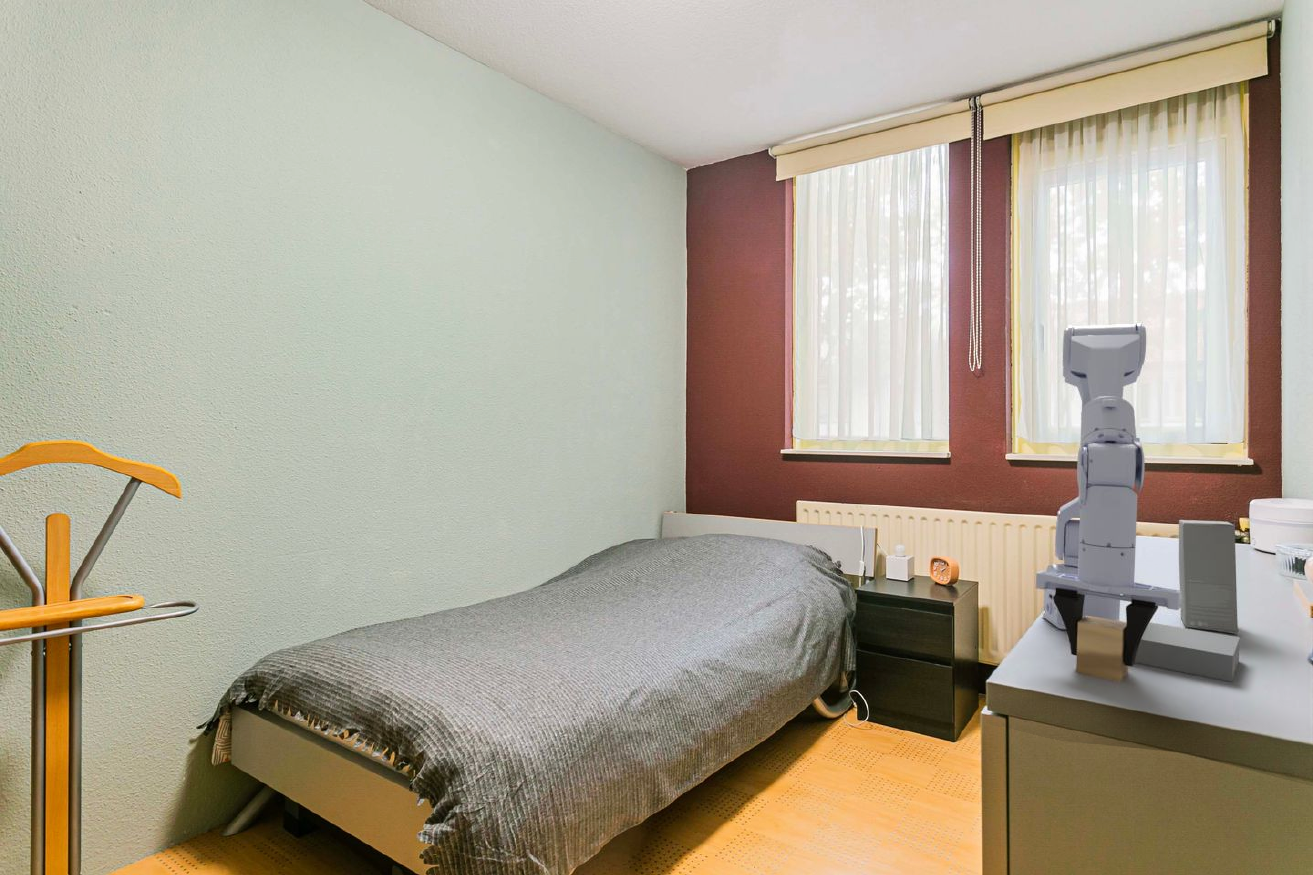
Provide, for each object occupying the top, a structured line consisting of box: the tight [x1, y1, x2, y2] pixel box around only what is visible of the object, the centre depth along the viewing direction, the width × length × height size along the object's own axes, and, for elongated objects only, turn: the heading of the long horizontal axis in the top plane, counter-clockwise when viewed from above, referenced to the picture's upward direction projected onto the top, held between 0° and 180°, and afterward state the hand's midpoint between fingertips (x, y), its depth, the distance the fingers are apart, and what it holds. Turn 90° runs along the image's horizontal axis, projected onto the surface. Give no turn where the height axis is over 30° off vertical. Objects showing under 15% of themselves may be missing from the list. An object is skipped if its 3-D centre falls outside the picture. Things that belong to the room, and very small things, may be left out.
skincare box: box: [1178, 519, 1239, 635], centre depth 111 cm, size 8×7×16 cm
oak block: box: [1075, 616, 1129, 683], centre depth 87 cm, size 4×4×6 cm
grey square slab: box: [1134, 621, 1241, 682], centre depth 93 cm, size 11×11×3 cm
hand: (1102, 658), depth 87 cm, fingers open, 5 cm apart
